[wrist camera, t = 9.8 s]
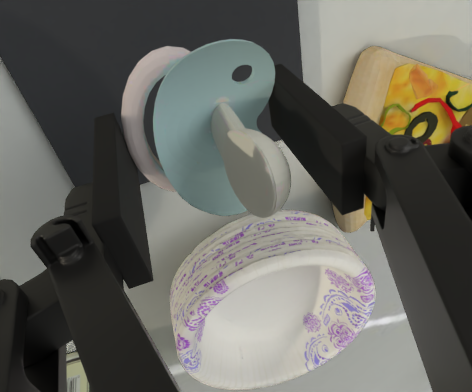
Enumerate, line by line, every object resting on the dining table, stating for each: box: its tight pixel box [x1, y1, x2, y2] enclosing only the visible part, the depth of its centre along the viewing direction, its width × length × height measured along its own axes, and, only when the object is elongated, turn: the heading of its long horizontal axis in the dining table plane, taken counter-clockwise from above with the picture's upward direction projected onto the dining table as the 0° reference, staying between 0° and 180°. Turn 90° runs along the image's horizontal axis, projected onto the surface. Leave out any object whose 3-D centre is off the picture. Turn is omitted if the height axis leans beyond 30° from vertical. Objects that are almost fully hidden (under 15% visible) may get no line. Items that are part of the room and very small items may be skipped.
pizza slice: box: [332, 46, 472, 233], centre depth 30 cm, size 16×21×3 cm
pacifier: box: [121, 39, 291, 218], centre depth 14 cm, size 7×6×6 cm
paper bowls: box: [170, 210, 375, 390], centre depth 31 cm, size 15×15×8 cm
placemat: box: [0, 0, 303, 187], centre depth 22 cm, size 16×14×1 cm
